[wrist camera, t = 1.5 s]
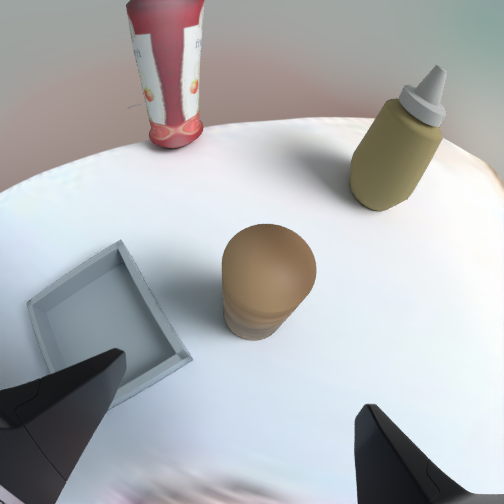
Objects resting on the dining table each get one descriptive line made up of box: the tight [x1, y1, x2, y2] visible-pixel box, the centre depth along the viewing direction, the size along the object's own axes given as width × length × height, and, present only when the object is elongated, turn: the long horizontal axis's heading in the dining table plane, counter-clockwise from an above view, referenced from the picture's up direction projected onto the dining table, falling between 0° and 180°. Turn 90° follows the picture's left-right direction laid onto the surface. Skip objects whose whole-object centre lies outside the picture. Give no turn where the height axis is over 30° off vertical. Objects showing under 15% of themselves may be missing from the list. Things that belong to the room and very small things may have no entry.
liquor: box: [126, 0, 204, 148], centre depth 19 cm, size 7×7×28 cm
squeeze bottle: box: [350, 65, 447, 211], centre depth 22 cm, size 8×8×18 cm
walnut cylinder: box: [222, 224, 316, 340], centre depth 18 cm, size 5×5×10 cm
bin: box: [27, 240, 193, 411], centre depth 19 cm, size 11×11×3 cm
